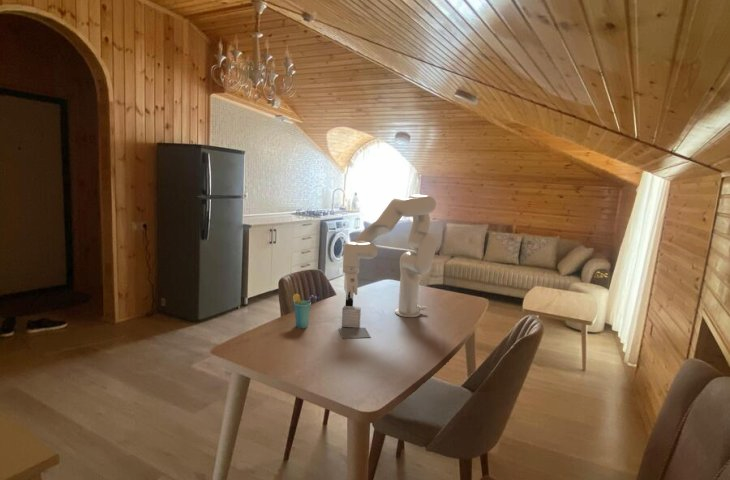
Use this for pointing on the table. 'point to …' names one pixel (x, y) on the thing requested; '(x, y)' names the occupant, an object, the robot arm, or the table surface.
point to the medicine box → (351, 316)
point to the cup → (302, 310)
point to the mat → (354, 333)
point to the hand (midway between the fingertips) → (349, 307)
